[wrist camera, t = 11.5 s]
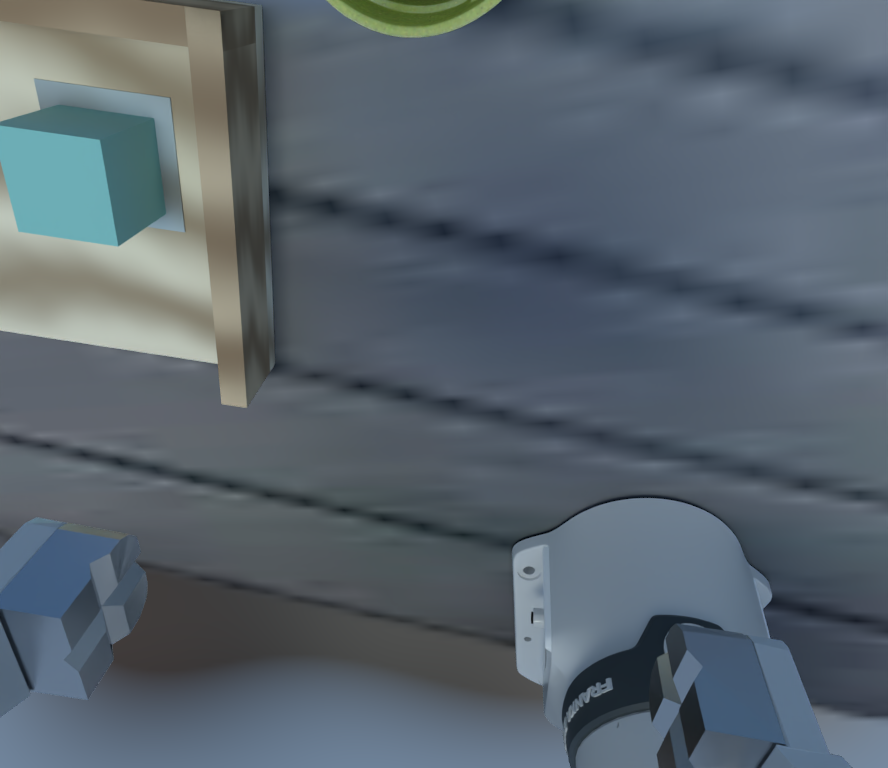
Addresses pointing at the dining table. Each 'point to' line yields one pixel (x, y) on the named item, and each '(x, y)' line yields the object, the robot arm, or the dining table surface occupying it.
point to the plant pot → (413, 15)
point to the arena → (183, 178)
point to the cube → (82, 173)
